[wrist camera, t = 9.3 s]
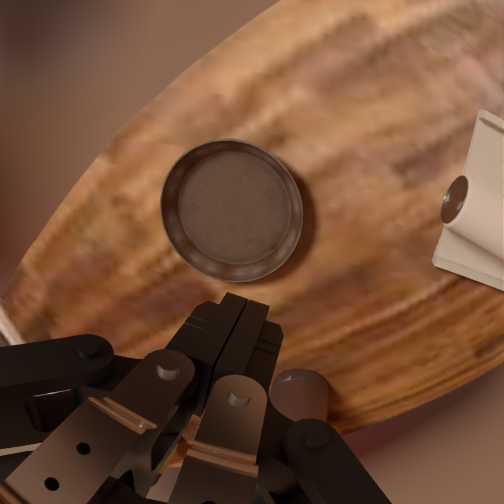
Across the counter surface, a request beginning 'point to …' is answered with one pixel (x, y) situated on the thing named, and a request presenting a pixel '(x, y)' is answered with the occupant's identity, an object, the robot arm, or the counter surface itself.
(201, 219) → the plant saucer
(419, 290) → the counter surface
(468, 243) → the tray
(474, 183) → the can
